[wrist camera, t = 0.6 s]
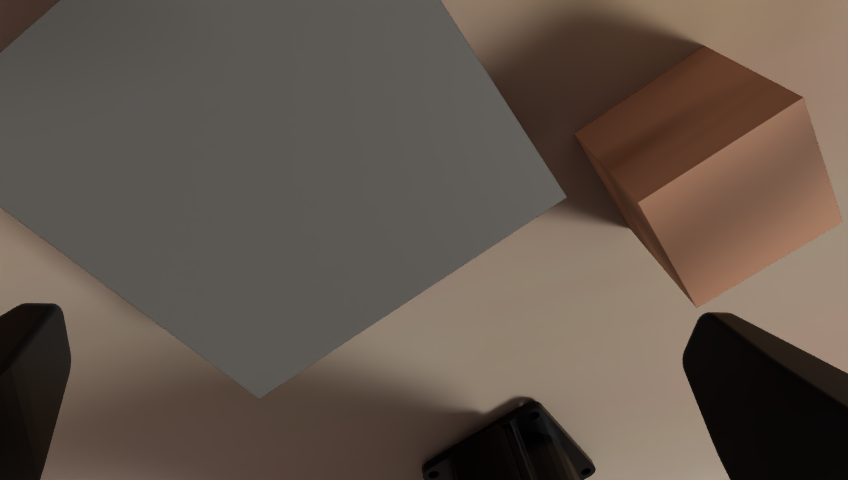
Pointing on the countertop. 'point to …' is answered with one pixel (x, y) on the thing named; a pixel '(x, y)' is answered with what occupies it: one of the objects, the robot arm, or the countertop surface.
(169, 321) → the plinth
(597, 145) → the cube
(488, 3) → the countertop surface
